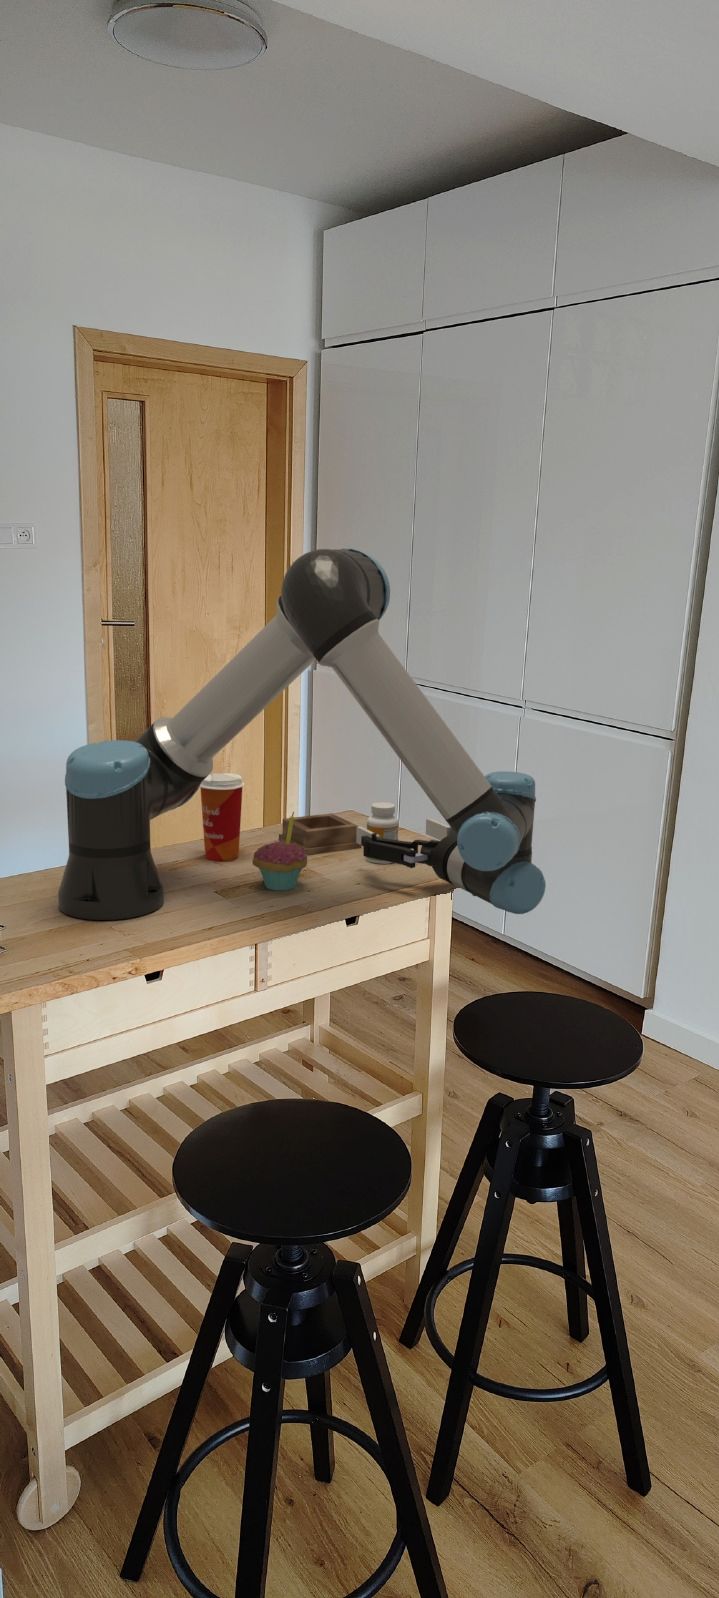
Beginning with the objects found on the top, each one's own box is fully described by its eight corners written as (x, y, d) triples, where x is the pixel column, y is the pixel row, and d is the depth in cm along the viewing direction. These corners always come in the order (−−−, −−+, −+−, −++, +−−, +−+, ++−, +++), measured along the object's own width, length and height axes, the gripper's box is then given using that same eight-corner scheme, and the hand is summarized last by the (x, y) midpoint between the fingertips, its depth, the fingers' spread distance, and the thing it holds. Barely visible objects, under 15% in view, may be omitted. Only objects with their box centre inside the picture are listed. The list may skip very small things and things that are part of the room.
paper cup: (193, 853, 186) (192, 773, 183) (236, 849, 189) (235, 770, 186) (207, 865, 179) (206, 783, 176) (251, 860, 182) (251, 780, 179)
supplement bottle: (360, 857, 186) (361, 802, 183) (387, 854, 188) (389, 800, 186) (375, 866, 181) (377, 809, 179) (403, 862, 184) (404, 806, 181)
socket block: (305, 855, 186) (306, 832, 185) (278, 839, 196) (278, 818, 195) (361, 847, 192) (361, 826, 191) (332, 833, 201) (332, 812, 200)
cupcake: (298, 876, 174) (299, 804, 172) (314, 892, 166) (315, 817, 164) (246, 880, 171) (246, 807, 169) (260, 897, 164) (260, 820, 161)
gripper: (393, 897, 158) (327, 860, 176) (529, 876, 170) (454, 843, 188) (395, 848, 156) (328, 815, 174) (532, 830, 168) (456, 801, 186)
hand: (393, 830), depth 181 cm, fingers open, 13 cm apart
